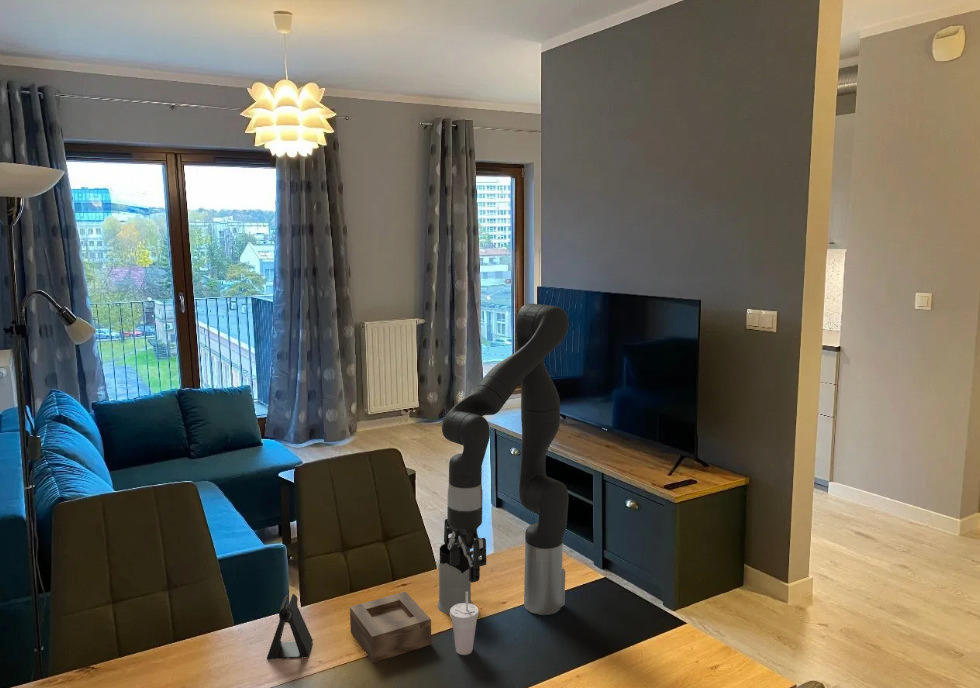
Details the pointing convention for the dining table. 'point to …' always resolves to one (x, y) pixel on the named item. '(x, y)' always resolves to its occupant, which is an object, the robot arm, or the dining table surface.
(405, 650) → the walnut tray
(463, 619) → the smoothie
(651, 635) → the dining table surface
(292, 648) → the phone stand
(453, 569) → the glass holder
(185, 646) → the dining table surface
